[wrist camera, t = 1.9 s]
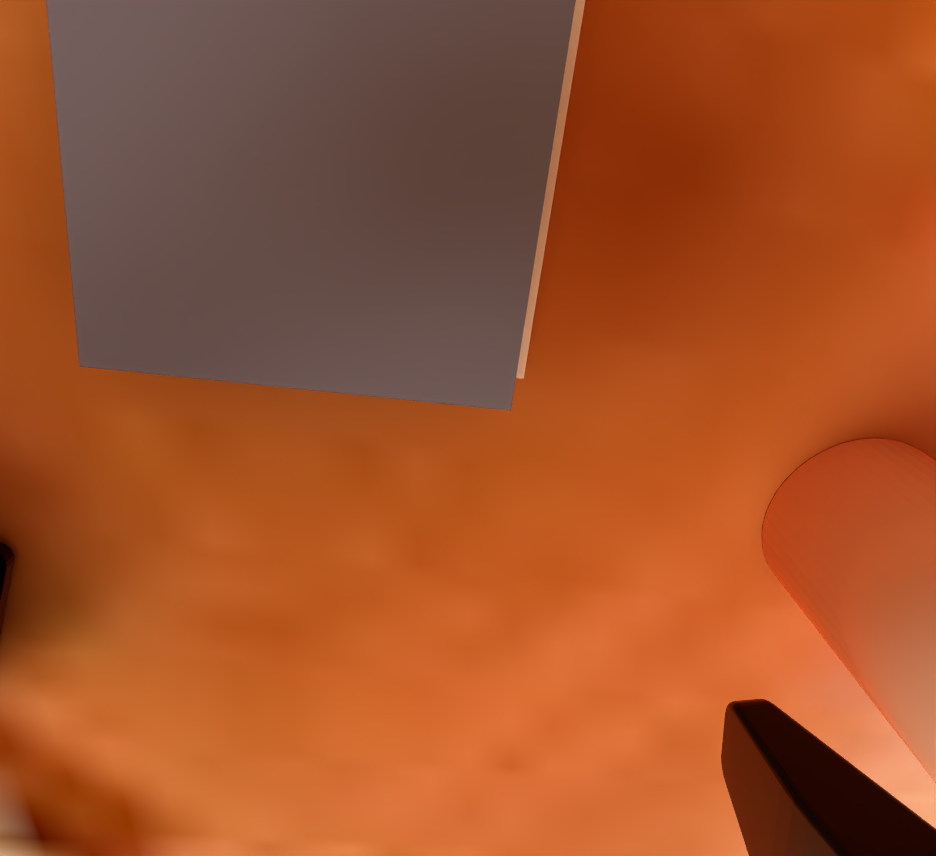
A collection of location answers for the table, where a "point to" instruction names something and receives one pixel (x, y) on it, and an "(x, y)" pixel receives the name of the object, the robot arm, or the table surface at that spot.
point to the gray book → (312, 187)
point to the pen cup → (867, 572)
